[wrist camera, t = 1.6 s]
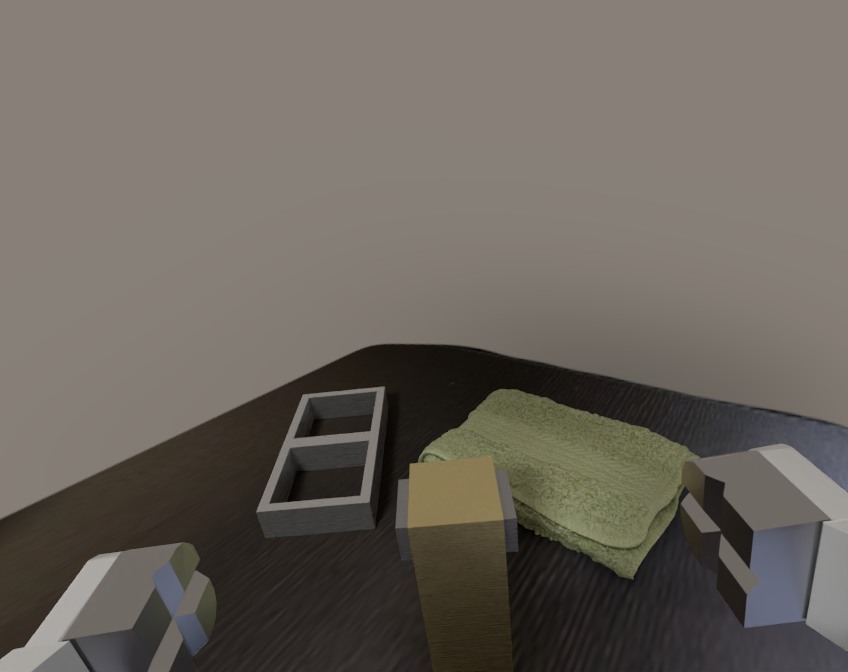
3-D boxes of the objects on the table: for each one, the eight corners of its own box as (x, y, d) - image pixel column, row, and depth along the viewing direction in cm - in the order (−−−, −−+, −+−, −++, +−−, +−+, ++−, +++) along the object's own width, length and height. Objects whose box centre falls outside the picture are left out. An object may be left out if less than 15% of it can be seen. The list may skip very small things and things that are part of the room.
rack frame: (265, 538, 36) (256, 512, 35) (308, 416, 49) (303, 394, 48) (375, 528, 36) (369, 502, 34) (388, 408, 49) (384, 386, 48)
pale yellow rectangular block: (423, 684, 26) (393, 529, 21) (424, 612, 29) (397, 464, 25) (525, 678, 26) (518, 518, 21) (513, 605, 29) (504, 455, 24)
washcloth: (639, 601, 29) (643, 562, 28) (410, 482, 40) (405, 450, 39) (703, 470, 38) (708, 435, 36) (500, 402, 48) (499, 373, 47)
